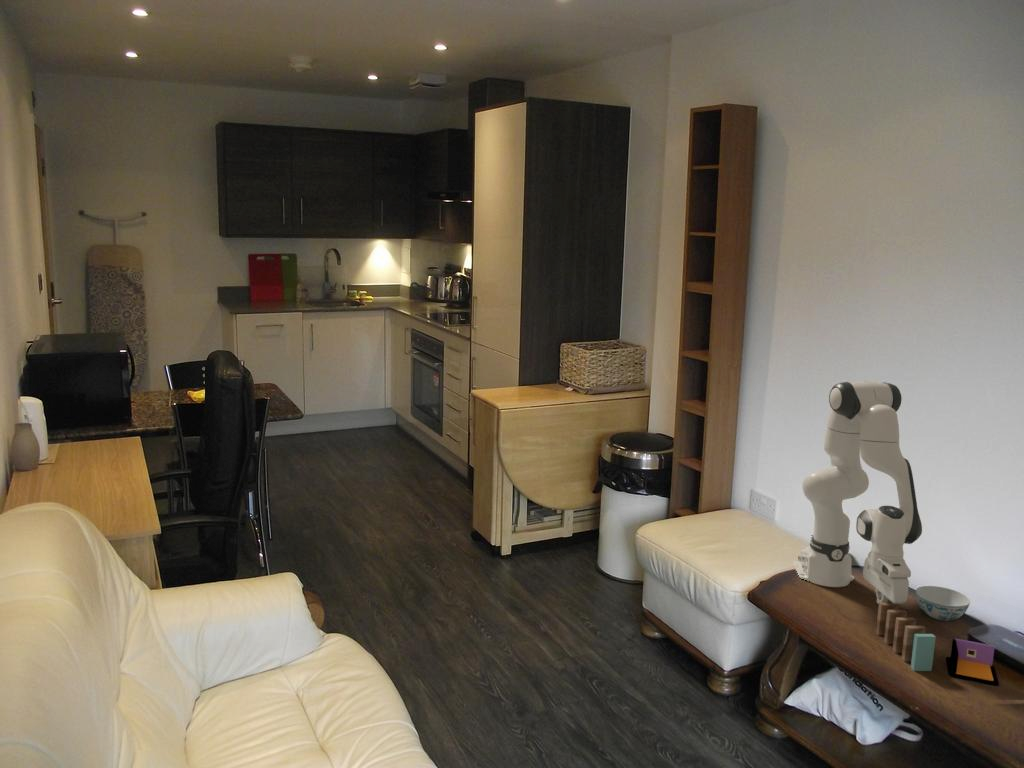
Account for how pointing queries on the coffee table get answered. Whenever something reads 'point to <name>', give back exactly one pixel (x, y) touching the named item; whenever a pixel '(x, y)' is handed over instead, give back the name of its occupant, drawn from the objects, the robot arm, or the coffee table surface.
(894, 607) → the domino
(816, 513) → the robot arm
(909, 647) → the domino
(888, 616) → the domino
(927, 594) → the chinaware
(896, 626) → the domino
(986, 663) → the miniature room corner
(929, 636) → the domino
